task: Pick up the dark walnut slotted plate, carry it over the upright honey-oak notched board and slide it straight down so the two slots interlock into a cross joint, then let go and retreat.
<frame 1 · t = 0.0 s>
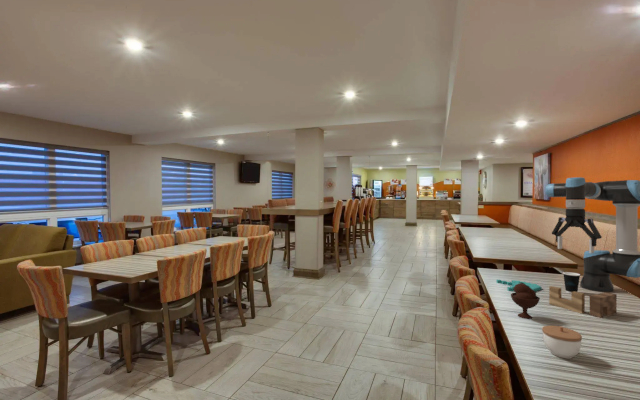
hand: (575, 250, 153), 28 cm above the table, fingers open, 13 cm apart
oak board: (566, 308, 151), on the table
walnut plate: (603, 314, 143), on the table
ice cream bowl: (524, 317, 140), on the table
lidded jar: (561, 354, 106), on the table
dixie cup: (571, 293, 177), on the table
alien figure: (520, 288, 188), on the table
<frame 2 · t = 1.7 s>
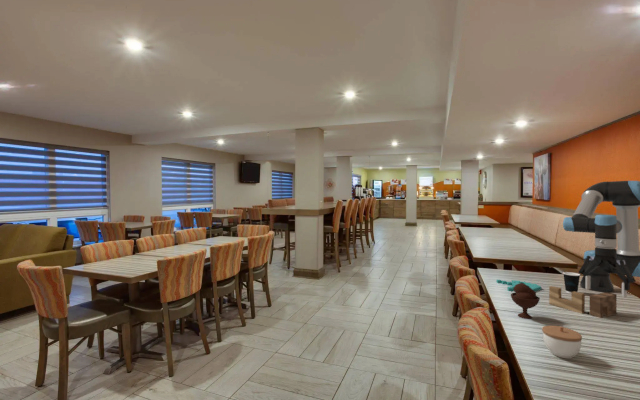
hand: (605, 293, 144), 10 cm above the table, fingers open, 13 cm apart
nothing on the table moved.
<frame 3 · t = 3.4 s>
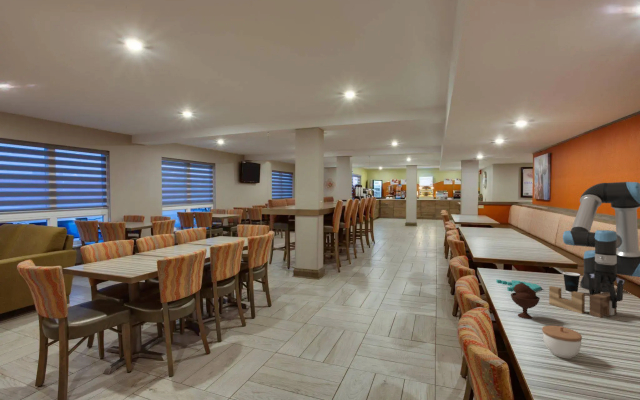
hand: (605, 312, 144), 0 cm above the table, fingers closed on walnut plate, 4 cm apart
walnut plate: (603, 314, 143), on the table, touching gripper
everything else where it was.
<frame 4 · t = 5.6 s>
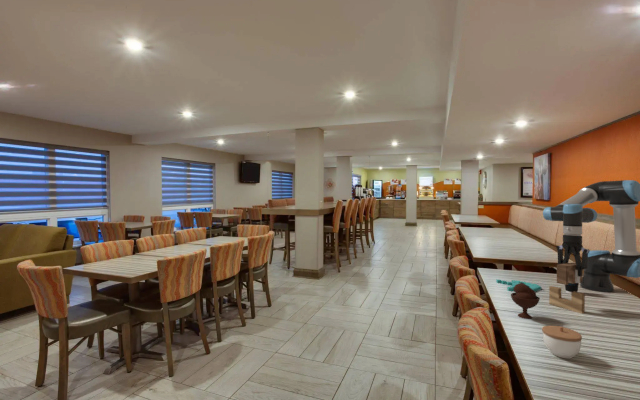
hand: (571, 281, 153), 13 cm above the table, fingers closed on walnut plate, 4 cm apart
walnut plate: (569, 282, 152), point 12 cm above the table, touching gripper
everything else where it was.
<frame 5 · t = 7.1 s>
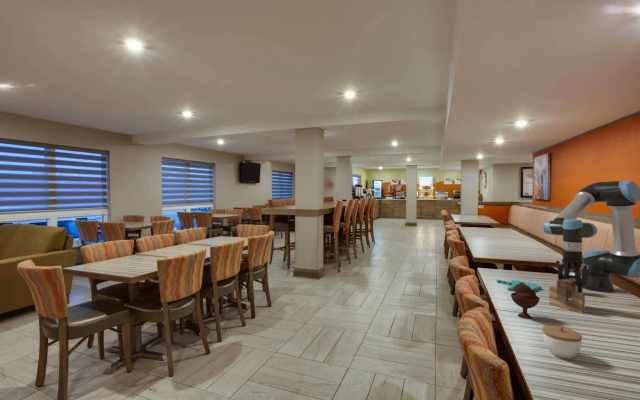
hand: (572, 297, 153), 5 cm above the table, fingers closed on walnut plate, 4 cm apart
walnut plate: (569, 298, 152), point 5 cm above the table, touching gripper
everything else where it was.
when the fingers open (1 cm above the table, at t = 8.2 s): walnut plate stays where it is, on the table.
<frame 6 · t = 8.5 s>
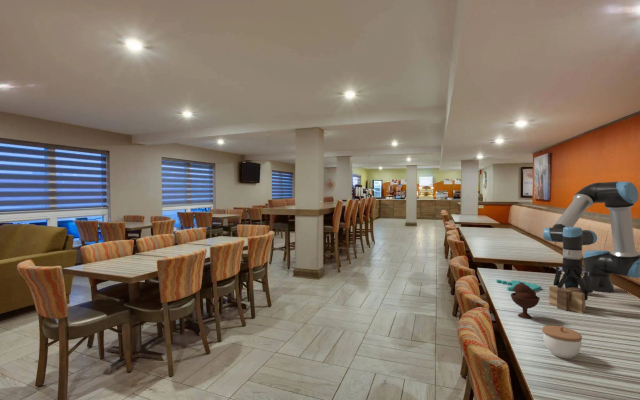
hand: (572, 303, 153), 2 cm above the table, fingers open, 8 cm apart
walnut plate: (569, 307, 152), on the table
everything else where it was.
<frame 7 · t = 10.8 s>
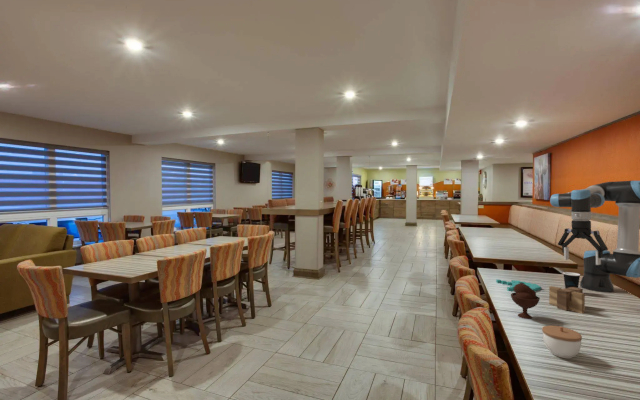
hand: (581, 262, 155), 22 cm above the table, fingers open, 13 cm apart
nothing on the table moved.
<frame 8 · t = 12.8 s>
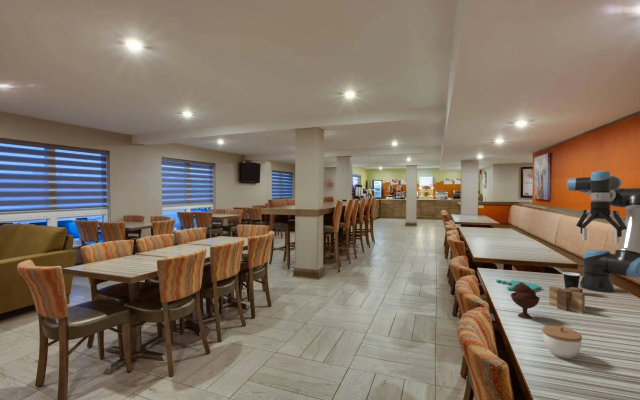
hand: (600, 241, 160), 32 cm above the table, fingers open, 13 cm apart
nothing on the table moved.
at the end: walnut plate 0.1 cm from the target spot on the table beside the oak board, on the table; walnut plate tilted 0°; the gripper is holding nothing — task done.
